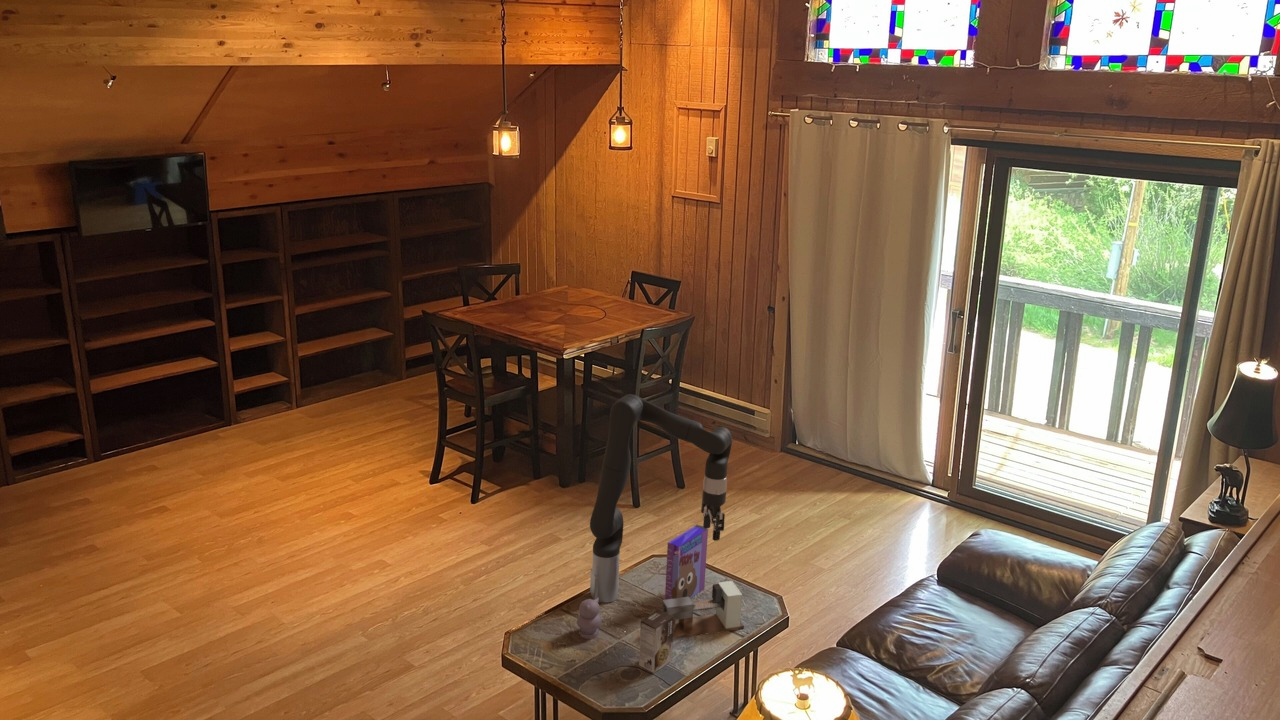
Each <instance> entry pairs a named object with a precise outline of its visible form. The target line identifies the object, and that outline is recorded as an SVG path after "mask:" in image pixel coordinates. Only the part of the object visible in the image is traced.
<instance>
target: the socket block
mask: <svg viewBox="0 0 1280 720" xmlns="http://www.w3.org/2000/svg"><path fill="white" fill-rule="evenodd" d="M717 584H719V585H720V587H721V588H722V596H721V598H724V600H725V606H724V607H721V608H715V614H716V615H717V616H718V618H719V619H720V621H721V622H722V624H723V625H724V627H725V628H733V627H740V621H741V617H742V615H741V613H742V602H743V601H742V600H743V594H742V592H741V591H740V590H739V588H738V587H737V585H736V584H735V583H734V582H733V580H729V581H728V580H727V581H721V582H717Z"/></svg>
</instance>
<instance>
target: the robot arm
mask: <svg viewBox="0 0 1280 720" xmlns="http://www.w3.org/2000/svg"><path fill="white" fill-rule="evenodd" d="M638 421H641V422H646V423H650V424H653V425H655V426H657V427H659V428H660V429H661V430H662V431H664V432H665V433H666V434H668V435H670V436H672V437H674V438H675V439H678V440H681V441H684V442H686V443H690V444H692V445H694V446H695V447H697V448H699V449H701V450H702V451H704V452H705V453H707V454H708V457H707V458H706V461H705V467H704V468H705V469H704V477H703V484H702V497H701V509H700V510H701V512H700V513H701V514H702V517H703V523H702V526H703V527H704V528H707V529H710V528H711V524H712V529H713V530H712V540H713V541H719V540H720V539H721V532H723V531H725V518H726V517H725V515H726V514H725V512H722V509H721V507H722V506H723V505H724V504H725V503H726V501H727V499H726V498H727V486H728V478H727V477H728V476H727V475H728V462H729V459H730V455H731V451H732V446H733V445H732V444H733V436H732V433H731V432H730V430H729V429H728V428H726V427H725V426H717V427H716V428H714V429H712V431H709V430H707V429H705V428H704V426H703V424H702V423H700V422H699V421H696V420H693V419H690V418H686V417H684V416H681V415H678V414H675V413H673V412H670V411H668V410H666V409H665V408H664V409H663V408H662V407H659V406H658V405H655V404H653V403H652V402H649V401H648V400H646V399H644V398H642V397H640V396H638V395H635V394H633V393H632V394H630V393H629V394H625V395H623V396H622V397H621V398H619V399H617V400H616V401H615V402H614V403H613V404H612V406H611V408H610V413H609V426H608V436H607V437H608V438H607V443H606V446H605V451H604V456H603V460H602V467H601V471H600V478H599V484H598V490H597V495H596V500H595V503H594V507H593V510H592V513H591V516H590V520H589V529H590V532H591V534H592V535H593V536H594V537H595V538H596V539H595V540H594V541H593V544H592V568H591V569H590V582H589V583H590V586H589V587H590V589H589V591H590V596H591V597H592V598H591V599H593V600H595V599H597V598H599V600H598V603H604V604H605V603H607V604H608V603H611V602H615V601H617V599H618V598H619V591H620V590H619V581H620V555H621V553H620V552H621V551H620V549H621V547H622V543H623V535H624V516H623V513H622V511H621V510H620V509H619V508H618V507H617V505H618V502H619V500H620V497H621V495H622V494H623V492H624V489H625V488H626V485H627V482H628V479H629V476H630V471H631V466H632V465H631V464H632V456H631V451H630V450H631V449H630V439H631V436H632V430H633V428H634V425H635V424H636V423H637V422H638Z"/></svg>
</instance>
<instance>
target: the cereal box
mask: <svg viewBox="0 0 1280 720" xmlns="http://www.w3.org/2000/svg"><path fill="white" fill-rule="evenodd" d="M708 533H709V528H704V527H703V525H698V524H696V525H694V526H693V527H691V528H689V529H687V530H685V531H684V532H683V533H681V534H680V535H678V536H676V537H674V538H673V539H671V540H669V541H668V542H667V549H666V550H667V551H666V567H665V569H666V570H665V589H664V590H665V592H664V594H665V595H664V600H667V599H675V598H683V597H689V598H690V599H691V600H692V599H693V598H695V597H696V596H697V595H698V593H699V594H700V593H701V592H703V591H705V585H706V572H707V571H706V569H707V568H706V567H707V566H706V565H707V554H708V553H707V552H708V551H707V550H708V537H709V535H708ZM702 590H703V591H702ZM695 595H696V596H695Z"/></svg>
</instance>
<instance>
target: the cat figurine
mask: <svg viewBox="0 0 1280 720" xmlns="http://www.w3.org/2000/svg"><path fill="white" fill-rule="evenodd" d="M598 600H599V598H597V599H595V600H593V598H588V599H584V600H583V601H581V603H580V604H579V608H578V612H579V613H578V614H579V615H578V616H577V618H576V625H577V627H578V628H579V631H578V632H579V633H578V634H579V636H580V637H581V638H583V639H585V640H593V639H596V638H597V637H599V634H600V629H599V627H600V626H601V625H602V621H603V619H602V616H601V614H600V607H601V606H600V604H599V602H598Z"/></svg>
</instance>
